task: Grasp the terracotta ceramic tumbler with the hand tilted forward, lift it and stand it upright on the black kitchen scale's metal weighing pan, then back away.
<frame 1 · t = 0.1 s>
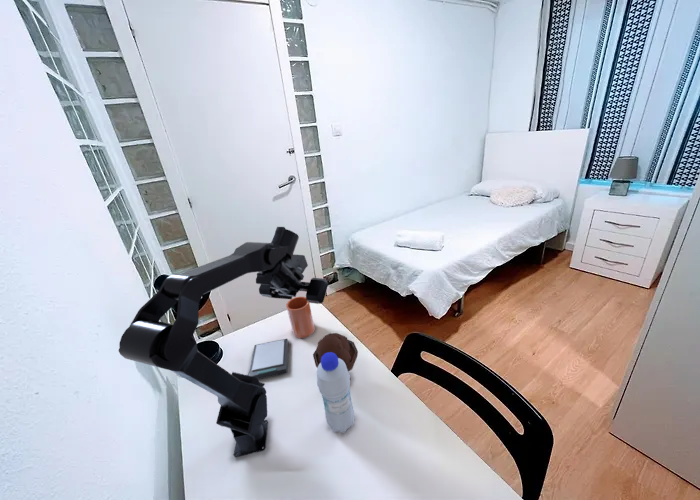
hand: (305, 299, 81), 15 cm above the table, tool tilted 35°, fingers open, 9 cm apart
scale: (270, 360, 81), on the table
bottle: (341, 422, 62), on the table
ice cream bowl: (340, 380, 72), on the table
tumbler: (304, 330, 91), on the table
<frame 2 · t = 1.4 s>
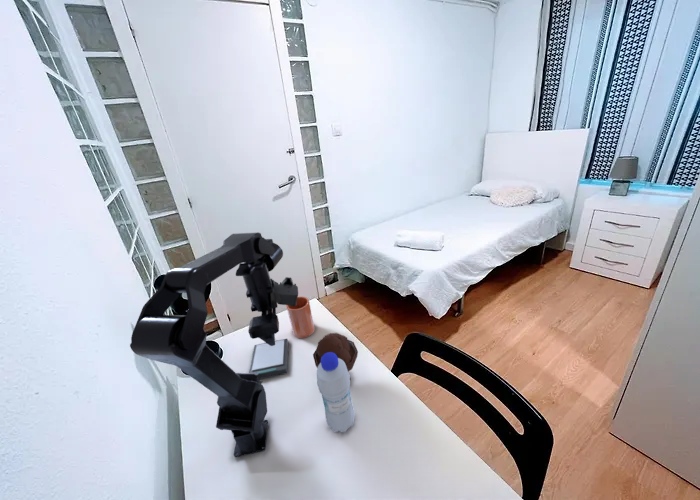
hand: (273, 332, 72), 13 cm above the table, tool pointing down, fingers open, 9 cm apart
nothing on the table moved.
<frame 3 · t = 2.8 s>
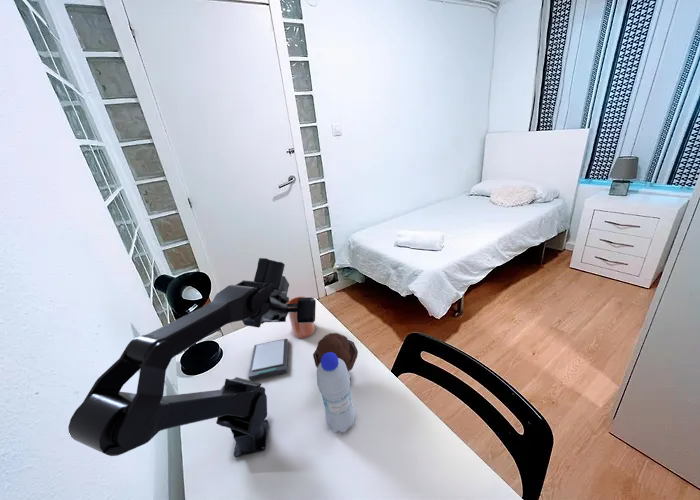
hand: (290, 314, 79), 12 cm above the table, tool tilted 45°, fingers open, 9 cm apart
nothing on the table moved.
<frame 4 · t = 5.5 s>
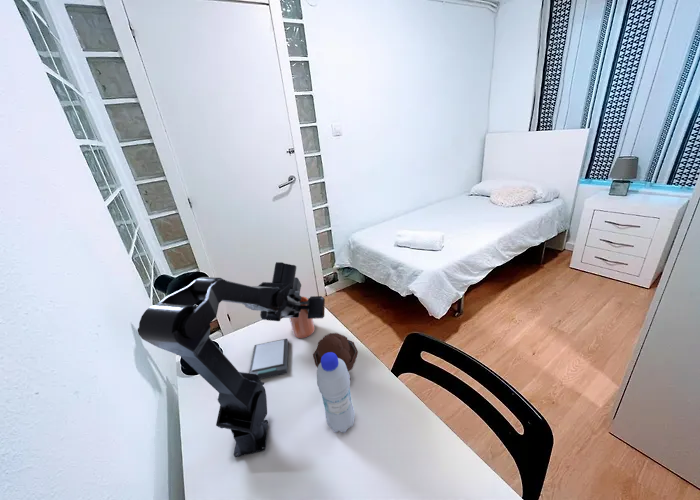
hand: (301, 311, 89), 7 cm above the table, tool tilted 45°, fingers closed on tumbler, 7 cm apart
tumbler: (304, 330, 91), on the table, touching gripper
everything else where it was.
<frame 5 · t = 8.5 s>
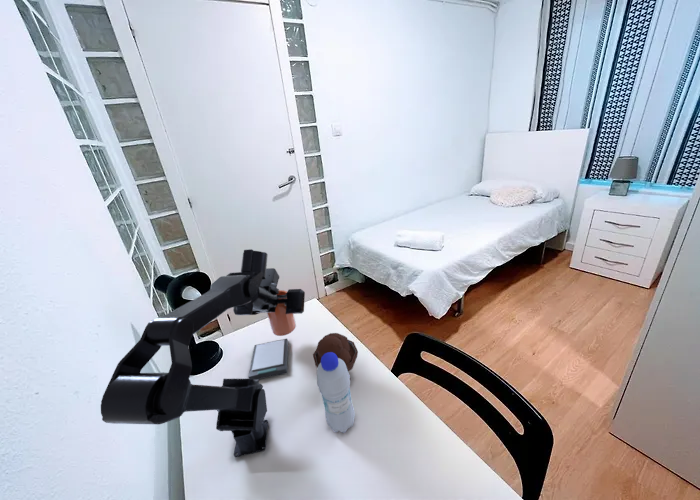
hand: (281, 306, 81), 13 cm above the table, tool tilted 45°, fingers closed on tumbler, 7 cm apart
tumbler: (284, 327, 83), point 7 cm above the table, touching gripper
everything else where it was.
when the fingers open (9 cm above the table, at t = 12.0 s): tumbler stays where it is, resting on scale.
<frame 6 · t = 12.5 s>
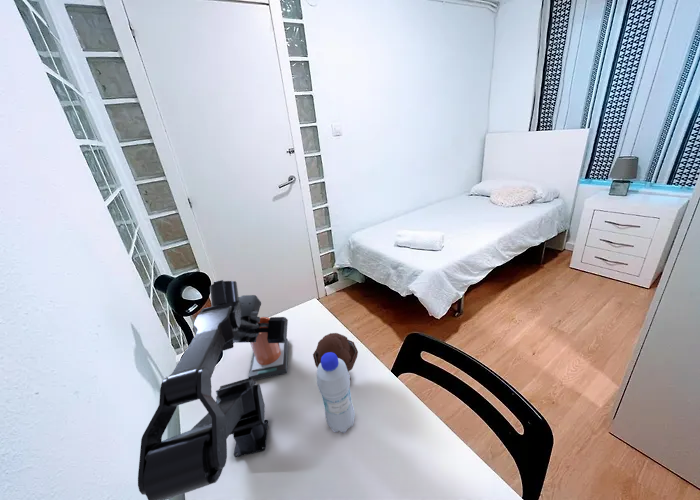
hand: (264, 332, 78), 9 cm above the table, tool tilted 45°, fingers open, 9 cm apart
tumbler: (268, 355, 80), point 2 cm above the table, touching scale
everything else where it was.
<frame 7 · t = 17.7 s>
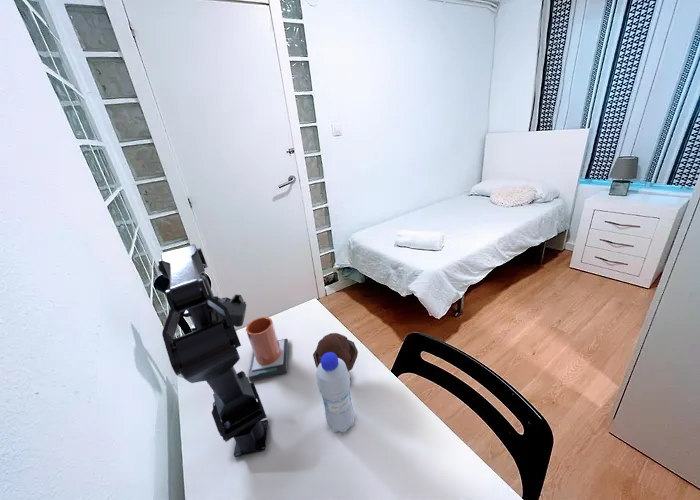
hand: (221, 353, 67), 13 cm above the table, tool pointing down, fingers open, 9 cm apart
nothing on the table moved.
at the end: tumbler inside the target area on the scale (0.2 cm from its centre), point 2.0 cm above the scale's base; tumbler tilted 0°; the gripper is holding nothing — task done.
